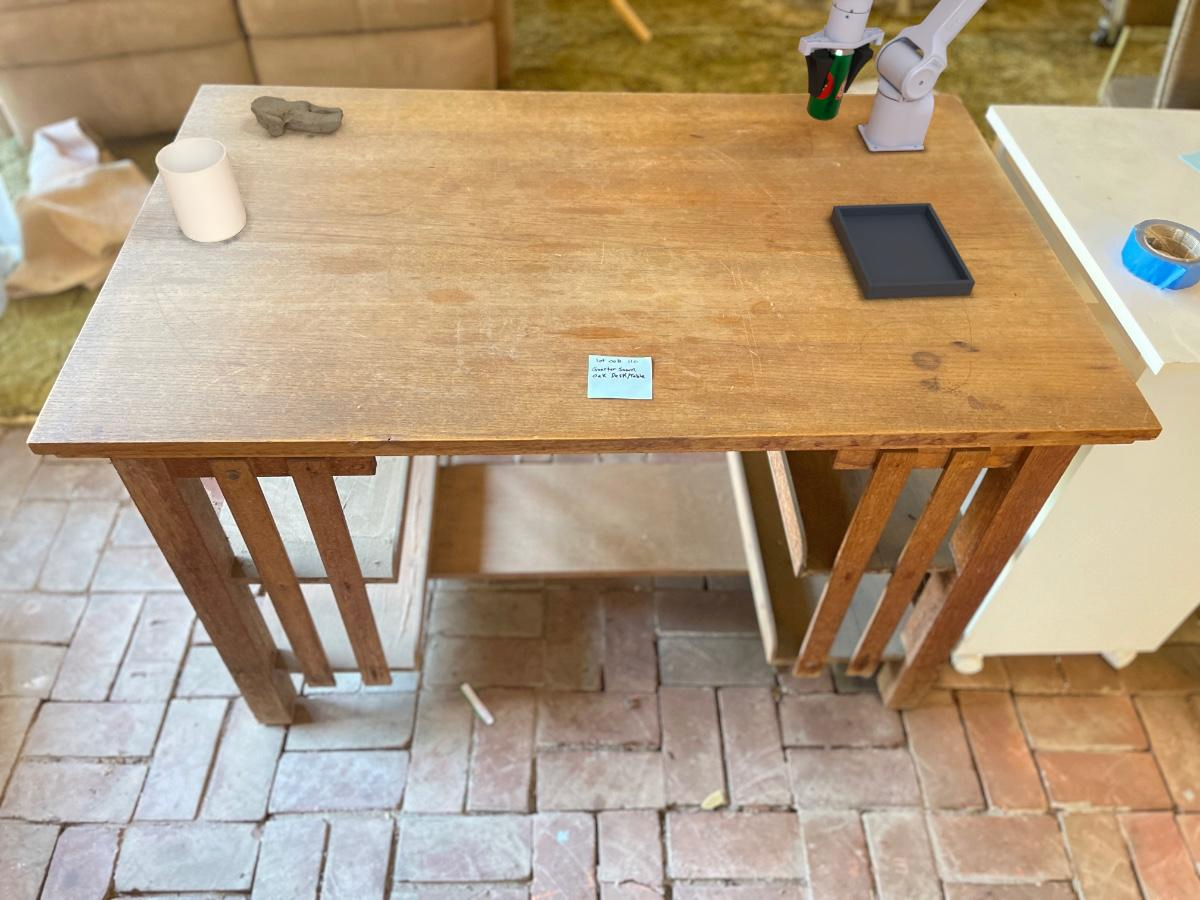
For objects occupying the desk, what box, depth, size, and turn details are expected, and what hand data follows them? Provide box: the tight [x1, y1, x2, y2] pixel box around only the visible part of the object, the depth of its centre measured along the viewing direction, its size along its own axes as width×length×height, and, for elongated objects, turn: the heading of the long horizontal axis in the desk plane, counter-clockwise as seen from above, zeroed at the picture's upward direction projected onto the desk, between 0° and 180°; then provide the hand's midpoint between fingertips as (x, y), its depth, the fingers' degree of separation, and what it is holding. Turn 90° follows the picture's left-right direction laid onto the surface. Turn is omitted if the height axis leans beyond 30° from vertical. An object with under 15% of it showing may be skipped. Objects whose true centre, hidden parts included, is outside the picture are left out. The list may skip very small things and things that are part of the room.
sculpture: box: [250, 95, 344, 137], centre depth 154 cm, size 7×5×15 cm
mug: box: [154, 136, 247, 244], centre depth 133 cm, size 10×12×12 cm
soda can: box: [806, 48, 855, 122], centre depth 145 cm, size 5×5×12 cm
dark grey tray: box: [830, 202, 976, 300], centre depth 136 cm, size 15×19×2 cm
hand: (827, 92), depth 147 cm, fingers closed on soda can, 5 cm apart
